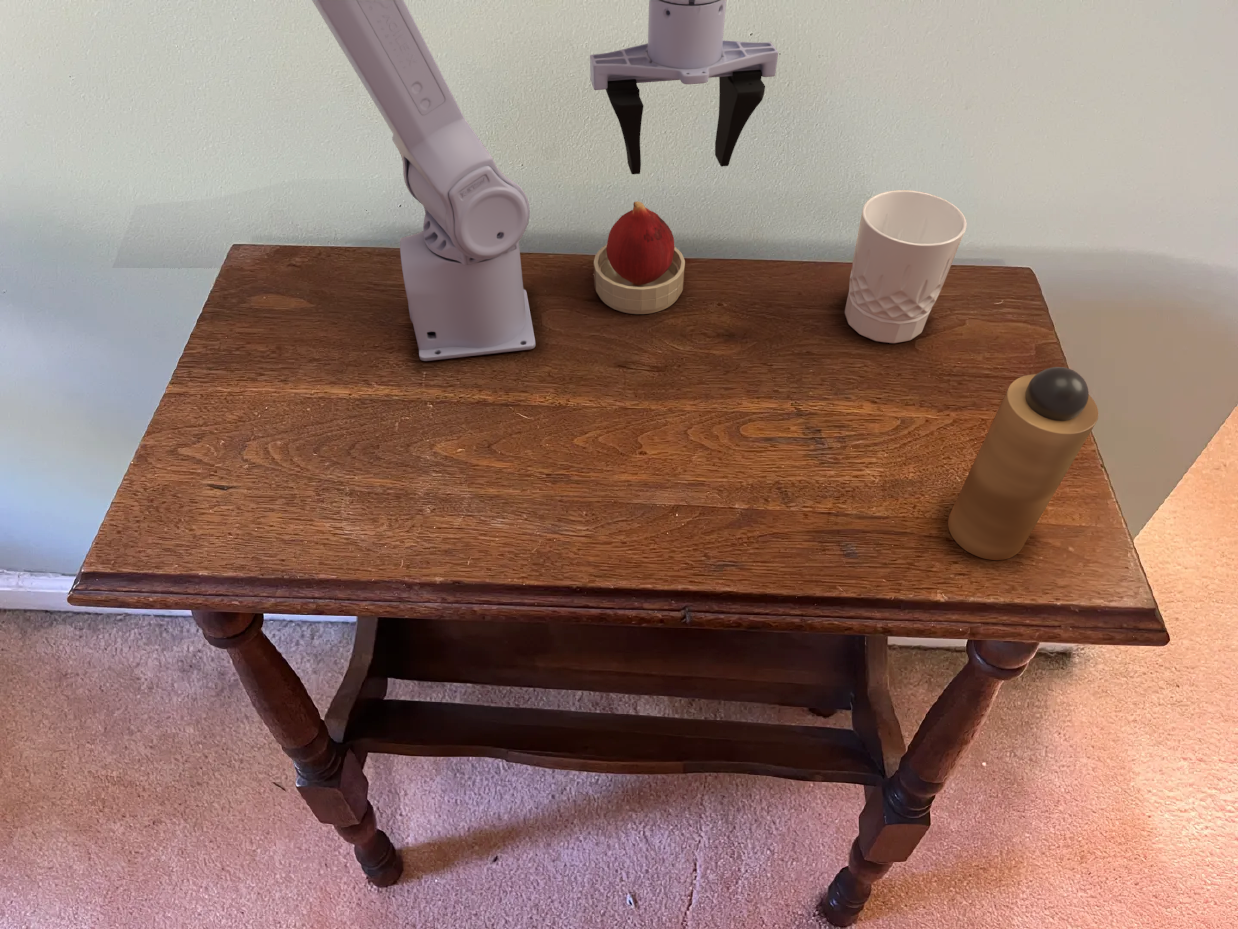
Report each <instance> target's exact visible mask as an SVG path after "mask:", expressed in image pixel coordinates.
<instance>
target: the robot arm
mask: <svg viewBox="0 0 1238 929" xmlns="http://www.w3.org/2000/svg"><path fill="white" fill-rule="evenodd" d="M311 1H312V3H313V5H314V6H315V8H316V9H317V11H318V12H319V14H320V16H321V18H322V19H323V21H324V23H325V25H326V26H327V28H328V29H329V31H330V32H331V34H332V37H334V39H335V41H336V43H337V44H338V45H339V47H340V49H341V50H342V52H343V54H344V55H345V57H346V59H347V61H348V62H349V64H350V65H351V67H352V69H353V70H354V72H355V74H356V75H357V77H358V79H359V80H360V82H361V83H362V84H363V87H364V88H365V90H366V91H367V94H368V95H369V97H370V98H371V100H372V102H373V103H374V105H375V106H376V108H377V109H378V112H379V113H380V115H381V116H382V118H383V119H384V121H385V123H386V125H387V126H388V128H389V129H390V131H391V132H392V137H391V138H392V142H393V143H394V145H395V147H396V148H397V151H398V152H399V154H400V158H401V161H402V172H403V181H404V183H405V186H406V188H407V190H408V192H409V193H410V195H411V196H412V197H413V198H414V199H415V200H416V201H417V202H419V203H420V204H421V205H422V206H423V209H424V210H423V211H424V219H423V229H422V230H421V231H420V232H417V233H414V234H411V235H407V236H403V237H401V238H399V252H400V253H399V254H400V263H401V269H402V271H401V272H402V276H403V283H404V290H405V294H406V299H407V303H408V304H407V305H408V306H407V307H408V313H409V319H410V322H411V323H412V325H413V329H414V330H413V331H414V334H415V338H416V343H417V347H418V348H417V349H418V356H419V359H420V361H423V362H431V361H438V360H440V361H441V360H449V359H457V358H466V357H473V356H484V355H493V354H501V353H509V352H510V353H511V352H519V351H529V350H532V349H535V347H536V344H537V343H536V338H535V333H534V332H535V331H534V326H533V320H532V315H531V311H530V304H529V297H528V293H527V290H526V289H525V288H524V281H523V280H524V279H523V270H522V260H521V252H520V251H521V250H520V240H521V239H522V238H523V236H524V234H525V232H526V231H527V228H528V225H529V222H530V217H531V216H530V215H531V209H530V202H529V199H528V196H527V194H526V192H525V191H524V190H523V188H522V187H521V186H520V185H519V184H518V183H517V182H515V181H514V180H512V179H511V178H509V177H508V176H507V175H505V173H504V172H502V170H501V169H500V168H498V166H497V164H496V162H495V160H494V158H493V156H492V155H491V154H490V152H489V151H488V149H487V147H486V146H485V144H483V142H482V140H481V139H480V138H479V136H478V135H477V133H476V132H475V131H474V130H473V128H472V127H471V125H470V123H469V122H468V121H467V119H466V118H465V116H464V115H463V113H462V110H461V109H460V107H459V105H458V102H457V101H456V99H455V97H454V95H453V92H452V91H451V89H450V87H449V85H448V83H447V82H446V79H445V78H444V76H443V74H442V72H441V69H440V68H439V66H438V64H437V62H436V60H435V58H434V56H433V54H432V52H431V50H430V48H429V47H428V44H427V43H426V41H425V39H424V36H423V35H422V33H421V31H420V28H419V27H418V25H417V22H416V21H415V19H414V17H413V16H412V14H411V12H410V10H409V8H408V6H407V3H406V2H405V0H311ZM726 11H727V0H648V21H647V23H648V24H647V28H648V29H647V43H644V44H639V45H634V46H630V47H626V48H622V49H618V50H614V51H608V52H601V53H594V54H590V55H589V78H590V82H591V85H592V88H593V90H594V91H603V90H605V92H606V94H607V97H608V100H609V102H610V105H611V107H612V109H613V111H614V113H615V116H616V119H617V120H618V123H619V126H620V129H621V133H622V136H623V137H622V138H623V140H624V146H625V151H626V152H625V153H626V159H627V160H626V161H627V166H628V168H629V171H630V174H631V175H640V174H641V167H642V159H641V158H642V157H641V156H642V154H641V129H642V121H643V112H644V103H643V101H642V99H641V97H640V91H641V90H640V88H639V87H638V84H644V83H658V82H670V81H680V82H681V84H684V85H699V84H706V83H708V82H709V78H710V79H711V78H718V81H719V82H718V83H719V84H718V85H719V86H718V88H719V98H718V102H719V103H718V119H717V127H716V134H715V141H714V156H715V158H716V160H717V162H718V163H719V164H718V165H720V167H728V166H730V163H731V162H730V161H731V160H732V156H733V152H734V150H735V147H736V145H737V142H738V140H739V138H740V136H741V133H742V131H743V129H744V128H745V126H746V124H747V122H748V120H749V119H750V117H751V116H752V114H753V113H754V112H755V110H756V109H757V107H758V106H759V105H760V103H761V102H762V101H763V99H764V96H765V90H766V85H765V83H764V82H763V80H762V78H772V77H773V78H775V77H776V73H777V66H778V57H779V51H778V49H777V48H776V46H774V44H773V43H772V41H757V42H756V41H754V42H753V41H741V40H728V39H727V40H726V39H724V32H725V22H726Z"/></svg>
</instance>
